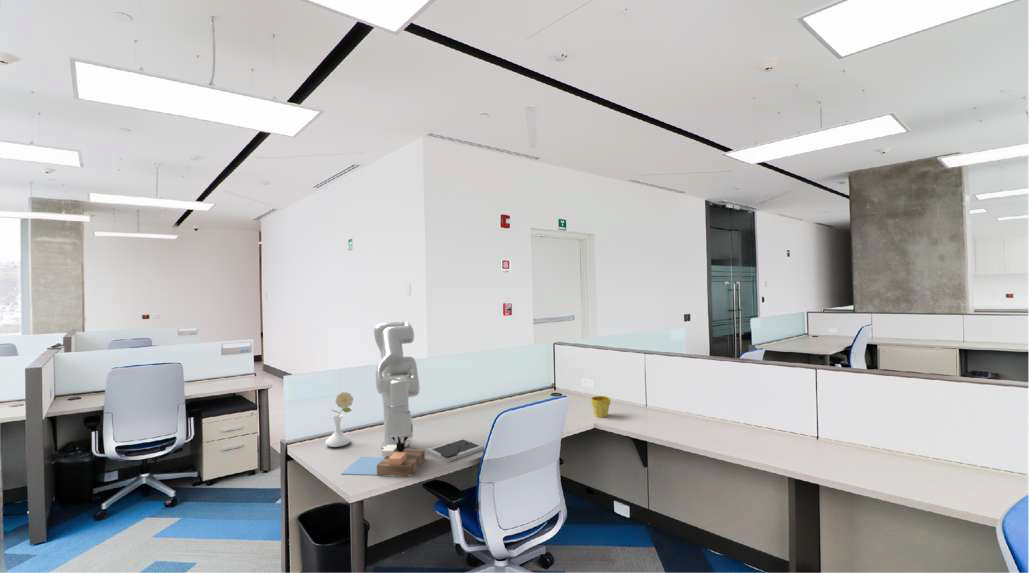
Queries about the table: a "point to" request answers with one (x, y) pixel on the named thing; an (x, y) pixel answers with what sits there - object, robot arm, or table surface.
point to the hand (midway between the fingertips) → (400, 451)
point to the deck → (406, 467)
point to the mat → (364, 466)
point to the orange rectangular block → (397, 458)
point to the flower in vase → (338, 436)
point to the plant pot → (600, 405)
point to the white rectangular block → (389, 450)
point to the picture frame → (455, 449)
